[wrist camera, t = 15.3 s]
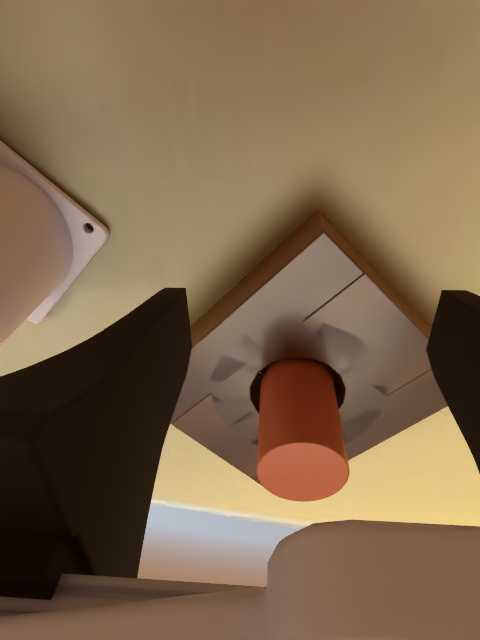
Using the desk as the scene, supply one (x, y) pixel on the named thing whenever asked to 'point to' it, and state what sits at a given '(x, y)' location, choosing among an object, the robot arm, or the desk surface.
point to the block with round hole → (308, 347)
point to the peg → (300, 431)
